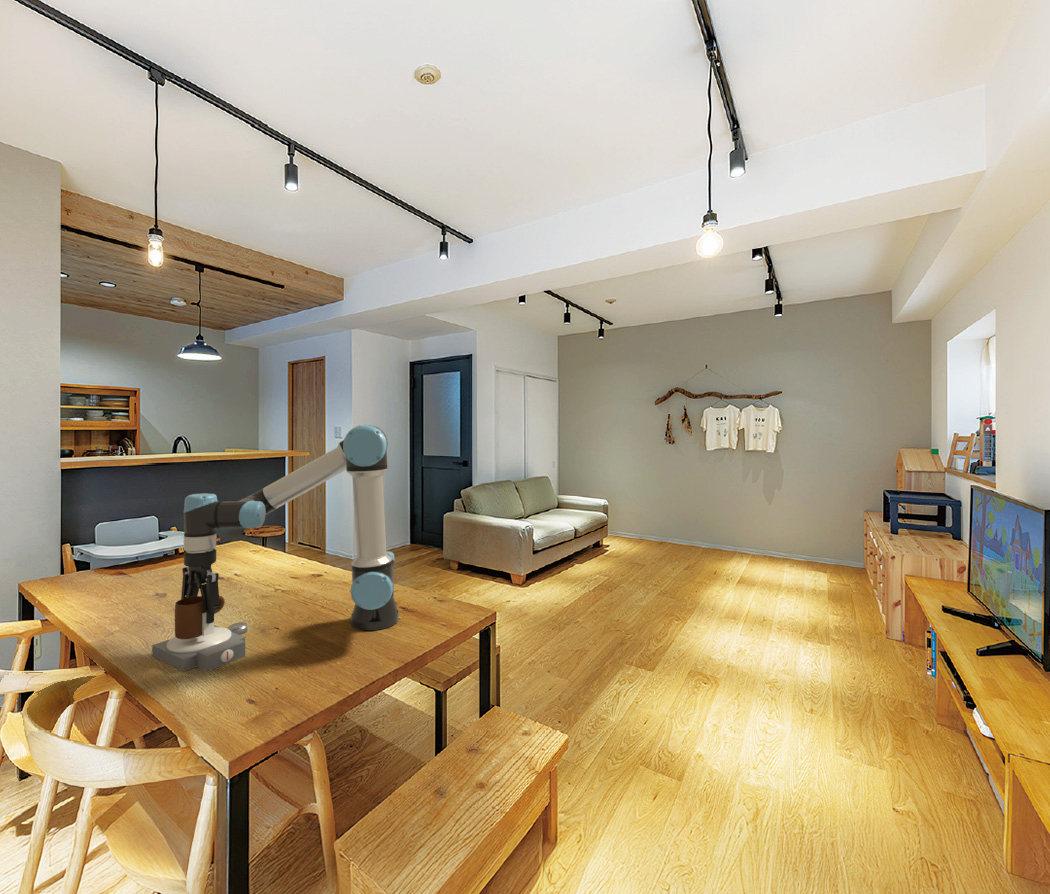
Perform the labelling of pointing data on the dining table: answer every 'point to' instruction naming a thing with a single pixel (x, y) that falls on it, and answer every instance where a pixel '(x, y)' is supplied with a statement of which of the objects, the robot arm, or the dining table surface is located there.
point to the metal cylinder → (238, 628)
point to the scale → (201, 650)
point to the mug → (190, 617)
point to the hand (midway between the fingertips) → (199, 630)
